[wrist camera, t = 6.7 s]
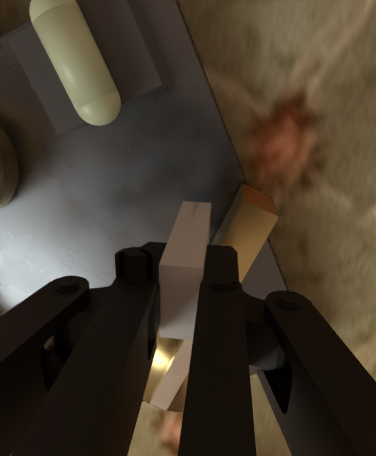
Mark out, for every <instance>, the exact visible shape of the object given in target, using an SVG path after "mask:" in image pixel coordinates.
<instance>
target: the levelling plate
mask: <svg viewBox="0 0 376 456" xmlns="http://www.w3.org/2000/svg"><path fill="white" fill-rule="evenodd" d="M137 2H138V5H139V7H140V10H141V12H142V14H143V17H144V19H145V22H146V24H147V26H148V29H149V31H150V34H151V36H152V38H153V41H154V43H155V46H156V48H157V51H158V53H159V55H160V58H161V60H162V63H163V65H164V67H165V70H166V72H167V75H168V77H169V79H170V82H171V84H172V85H170V86H168V87H165V88H163V89H161V90H159V91H157V92H155V93H153V94H151V95H149V96H147V97H145V98H142V99H140V100H138V101H136V102H134V103H132V104H130V105H128V106H126V107H124V108H121V109H120V112H119V114H118V116H117V117H116V118H115V119H114V120H113V121H112V122H111V123H109V124H106V125H102V126H97V125H92V124H88V125H86V126H84V127H82V128H79V129H76V130H72V131H69V132H65V133H62V134H57V132H56V130H55V128H54V126H53V124H52V122H51V120H50V118H49V117H48V115H47V113H46V111H45V109H44V107H43V105H42V103H41V102H40V100H39V98H38V96H37V94H36V92H35V90H34V88H33V87H32V85H31V83H30V81H29V79H28V77H27V75H26V73H25V72H24V70H23V68H22V66H21V64H20V62H19V60H18V58H17V56H16V55H15V53H14V51H13V49H12V47H11V45H10V43H9V41H8V40H7V39H8V38H10V37H11V36H13V35H15V34H17V33H18V32H20V31H22V30H23V29H25V28H27V27H29V26H30V25H32V22H31V20H29V21H28V22H26V23H24V24H22V25H21V26H19V27H17V28H16V29H14V30H12V31H11V32H9V33H7V34H5V35H4V36H2V37H0V126H1V128H2V129H3V130H4V131H5V133H6V134H7V136H8V138H9V139H10V141H11V143H12V145H13V148H14V150H15V153H16V157H17V161H18V168H19V177H18V184H17V187H16V190H15V192H14V195H13V196H12V198H11V199H10V201H9V202H8V203H7V204H6V205H5V206H4V207H3V208H1V209H0V316H2V315H3V314H5V313H6V312H7V311H9V310H10V309H12V308H13V307H15V306H16V305H17V304H19V303H20V302H22V301H23V300H25V299H26V298H27V297H29V296H30V295H32V294H33V293H35V292H36V291H37V290H39V289H40V288H42V287H43V286H45V285H46V284H47V283H49V282H51V281H53V280H54V279H57V278H60V277H63V276H69V275H73V276H80V277H83V278H86V279H87V280H88V281H89V287H90V288H100V287H107V286H111V285H112V283H113V281H114V280H115V278H116V272H115V253H116V252H118V251H119V250H122V249H124V248H129V247H141V246H143V245H144V244H146V243H148V242H162V243H167V242H168V240H169V237H170V234H171V232H172V229H173V227H174V224H175V221H176V219H177V216H178V213H179V211H180V208H181V205H182V203H183V201H189V202H206V203H211V218H210V237H209V245H211V243H212V241H213V239H214V237H215V235H216V234H217V232H218V230H219V228H220V226H221V224H222V222H223V220H224V218H225V216H226V214H227V212H228V210H229V208H230V206H231V204H232V202H233V200H234V198H235V196H236V194H237V192H238V190H239V188H240V186H241V185H242V184H244V185H247V186H249V185H248V183H247V180H246V177H245V175H244V172H243V170H242V167H241V164H240V162H239V159H238V157H237V154H236V151H235V149H234V146H233V144H232V141H231V138H230V136H229V133H228V130H227V128H226V125H225V123H224V120H223V117H222V115H221V112H220V110H219V107H218V104H217V102H216V99H215V97H214V94H213V91H212V89H211V86H210V84H209V81H208V78H207V76H206V73H205V70H204V68H203V65H202V63H201V60H200V57H199V55H198V52H197V50H196V47H195V44H194V42H193V39H192V37H191V34H190V31H189V29H188V26H187V24H186V21H185V18H184V16H183V13H182V10H181V8H180V5H179V3H178V0H137ZM241 285H242V288H243V291H244V292H246V293H247V294H249V295H251V296H253V297H256V298H259V299H263V300H265V299H266V297H267V295H268V294H269V293H271V292H273V291H279V290H284V291H286V290H288V287H287V284H286V282H285V279H284V277H283V274H282V271H281V269H280V266H279V264H278V261H277V258H276V256H275V253H274V250H273V248H272V245H271V243H270V240H269V237H267V239H266V241H265V242H264V244H263V246H262V247H261V249H260V251H259V253H258V254H257V256H256V258H255V260H254V261H253V263H252V265H251V267H250V268H249V270H248V272H247V273H246V275H245V277H244V279H243V280H242V282H241ZM288 291H289V290H288ZM50 344H51V338H50V339H48V341H47V342H46V343H45V344H44V348H47V347H48V346H49V345H50ZM249 373H250V375H253V374H257V367H254V366H251V365H249ZM143 401H144V400H142V402H143Z"/></svg>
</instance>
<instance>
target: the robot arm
mask: <svg viewBox="0 0 376 456" xmlns="http://www.w3.org/2000/svg"><path fill="white" fill-rule="evenodd" d="M210 218H211V203H206V202H189V201H183V203H182V205H181V208H180V211H179V213H178V216H177V219H176V221H175V224H174V227H173V229H172V232H171V234H170V237H169V240H168V242H167V243H162V242H148V243H146V244H144V245H143V246H141V247H129V248H124V249H122V250H119V251H118V252H116V253H115V272H116V278H115V280H114V281H113V283H112V285H111V286H107V287H100V288H90V287H89V281H88V280H87V279H86V278H83V277H80V276H73V275H69V276H63V277H60V278H57V279H54V280H53V281H51V282H49V283H47V284H46V285H45V286H43V287H42V288H40V289H39V290H37V291H36V292H35V293H33V294H32V295H30V296H29V297H27V298H26V299H25V300H23V301H22V302H20V303H19V304H17V305H16V306H15V307H13V308H12V309H10V310H9V311H7V312H6V313H5V314H3V315H2V316H0V456H10V455H11V454H12V455H11V456H127V454H128V451H129V447H130V443H131V440H132V436H133V433H134V429H135V425H136V422H137V418H138V414H139V411H140V407H141V403H142V400H143V396H144V392H145V389H146V385H147V381H148V378H149V374H150V370H151V367H152V363H153V359H154V356H155V352H156V349H157V332H158V328H159V337H163V338H175V339H185V340H193V342H192V350H191V358H190V366H189V373H188V381H187V389H186V397H185V404H184V412H183V420H182V428H181V435H180V443H179V451H178V456H256V445H255V433H254V421H253V409H252V397H251V385H250V373H249V365H251V366H254V367H257V374H258V377H259V379H260V382H261V384H262V386H263V389H264V391H265V393H266V396H267V398H268V400H269V403H270V405H271V407H272V410H273V412H274V414H275V417H276V419H277V421H278V424H279V426H280V428H281V431H282V433H283V435H284V438H285V440H286V442H287V445H288V447H289V449H290V452H291V454H292V456H376V382H375V380H374V379H373V378H372V377H371V375H370V374H369V373H368V372H367V370H366V369H365V368H364V367H363V366H362V364H361V363H360V362H359V361H358V359H357V358H356V357H355V356H354V355H353V353H352V352H351V351H350V350H349V348H348V347H347V346H346V345H345V343H344V342H343V341H342V340H341V339H340V337H339V336H338V335H337V334H336V332H335V331H334V330H333V329H332V328H331V326H330V325H329V324H328V323H327V321H326V320H325V319H324V318H323V316H322V315H321V314H320V313H319V312H318V310H317V309H316V308H315V307H314V305H313V304H312V303H311V302H310V301H309V300H308V299H307V298H306V297H305V296H303V295H300V294H298V293H296V292H293V291H288V290H286V291H284V290H279V291H273V292H271V293H269V294H268V295H267V297H266V299H265V300H263V299H259V298H256V297H253V296H251V295H249V294H247V293H246V292H244V291H243V288H242V285H241V282H239V269H238V253H237V251H236V250H235V249H234V248H233V247H232V246H221V245H209V237H210ZM50 338H51V344H50V345H49V346H48V347H47V348H44V344H45V343H46V342H47V341H48V339H50ZM13 451H14V452H13Z"/></svg>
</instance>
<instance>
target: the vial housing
mask: <svg viewBox="0 0 376 456" xmlns="http://www.w3.org/2000/svg"><path fill="white" fill-rule="evenodd" d="M29 13H30V18H31V22H32V25H30V26H29V27H27V28H25V29H23V30H22V31H20V32H18V33H17V34H15V35H13V36H11V37H10V38H8V39H7V40H8V41H9V43H10V45H11V47H12V49H13V51H14V53H15V55H16V56H17V58H18V60H19V62H20V64H21V66H22V68H23V70H24V72H25V73H26V75H27V77H28V79H29V81H30V83H31V85H32V87H33V88H34V90H35V92H36V94H37V96H38V98H39V100H40V102H41V103H42V105H43V107H44V109H45V111H46V113H47V115H48V117H49V118H50V120H51V122H52V124H53V126H54V128H55V130H56V132H57V134H62V133H65V132H69V131H72V130H76V129H79V128H82V127H84V126H86V125H88V124H92V125H97V126H102V125H106V124H109V123H111V122H112V121H113V120H114V119H115V118H116V117H117V116H118V114H119V112H120V109H121V108H124V107H126V106H128V105H130V104H132V103H134V102H136V101H138V100H140V99H142V98H145V97H147V96H149V95H151V94H153V93H155V92H157V91H159V90H161V89H163V88H165V87H168V86H170V85H172V84H171V82H170V79H169V77H168V75H167V72H166V70H165V67H164V65H163V63H162V60H161V58H160V55H159V53H158V51H157V48H156V46H155V43H154V41H153V38H152V36H151V34H150V31H149V29H148V26H147V24H146V22H145V19H144V17H143V14H142V12H141V10H140V7H139V5H138V2H137V0H31V2H30V7H29Z"/></svg>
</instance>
